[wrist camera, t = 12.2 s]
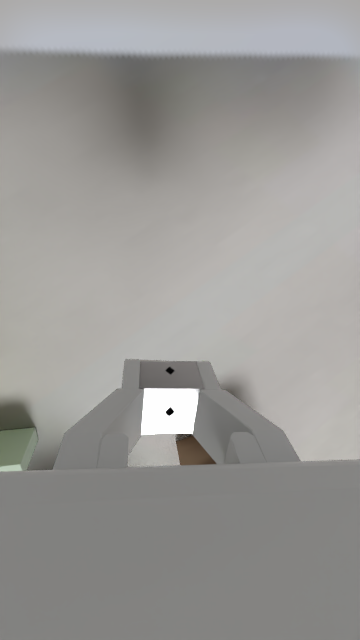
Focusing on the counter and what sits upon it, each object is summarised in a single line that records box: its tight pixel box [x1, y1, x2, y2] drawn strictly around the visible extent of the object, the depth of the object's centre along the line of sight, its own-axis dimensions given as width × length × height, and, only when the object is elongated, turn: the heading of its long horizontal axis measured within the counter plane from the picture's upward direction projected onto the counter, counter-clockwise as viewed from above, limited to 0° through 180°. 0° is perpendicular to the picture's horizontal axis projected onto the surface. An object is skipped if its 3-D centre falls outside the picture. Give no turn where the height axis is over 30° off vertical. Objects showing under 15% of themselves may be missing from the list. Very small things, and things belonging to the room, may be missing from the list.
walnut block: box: [176, 435, 216, 465], centre depth 21 cm, size 5×5×5 cm
